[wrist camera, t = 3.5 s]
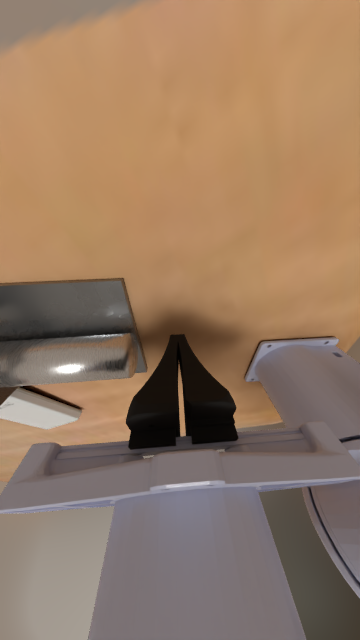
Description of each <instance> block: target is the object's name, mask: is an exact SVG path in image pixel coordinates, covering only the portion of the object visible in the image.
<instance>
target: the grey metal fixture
mask: <svg viewBox="0 0 360 640" xmlns="http://www.w3.org/2000/svg"><path fill="white" fill-rule="evenodd" d="M122 333H133V334H134V336H135V338H136V340H137V345H138V363H137V368H136V371H135V373H142V372H147V365H146V361H145V358H144V354H143V350H142V346H141V343H140V339H139V335H138V332H137V328H136V324H135V321H134V317H133V313H132V309H131V306H130V302H129V298H128V295H127V291H126V287H125V283H124V280H123V278H118V279H95V280H72V281H48V282H25V283H2V284H0V342H3V341H18V340H33V339H48V338H63V337H77V336H92V335H107V334H122ZM18 387H19V386H15V387H1V388H0V406H1V405H2V404H3V402H4V401H5V400H6V399H7V398H8V397H9V396H10V395H11V394H12V393H13V392H14V391H15V390H16V389H17V388H18Z"/></svg>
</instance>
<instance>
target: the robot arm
mask: <svg viewBox="0 0 360 640" xmlns="http://www.w3.org/2000/svg"><path fill="white" fill-rule="evenodd" d="M338 342H339V339H337V338H336V337H331V338H314V339H297V340H280V341H264V342H261V343H260V345H259V347H258V349H257V351H256V354H255V356H254V358H253V361H252V363H251V365H250V367H249V370H248V372H247V374H246V376H245V380H246V381H247V382H251V381H260V382H261V384H262V386H263V387H264V389H265V391H266V393H267V394H268V396H269V398H270V400H271V401H272V403H273V405H274V407H275V408H276V410H277V412H278V413H279V415H280V417H281V419H282V420H283V422H284V424H285V425H286V427H287V428H283V429H271V430H258V431H246V432H237V431H236V428H235V425H234V424H235V421H234V418H233V414H234V412H235V410H236V405H235V403H234V400H233V398H232V396H231V395H230V393H229V391H228V390H227V389H226V388H225V387H223V386H222V385H221V384H220V383H219V382H218V381H217V380H216V379H215V378H214V377H213V376H212V375H211V374H210V373H209V372H208V371H207V370H206V369H205V368H204V367H203V365H202V364H201V363H200V362H199V360H198V359H197V357H196V356H195V354H194V353H193V351H192V350H191V348H190V346H189V344H188V342H187V340H186V337H185V335H184V334H179V335H171V336H170V339H169V343H168V346H167V348H166V351H165V353H164V355H163V357H162V359H161V361H160V363H159V365H158V366H157V368H156V369H155V371H154V373H153V374H152V375H151V377H150V378H149V379H148V381H147V382H146V383H145V385H144V386H143V387H142V388H141V389H140V391H139V392H138V393H137V394H136V395H135V396H134V397H133V400H132V402H131V404H130V407H129V410H128V414H127V418H126V424H127V426H128V427H129V429H130V430H131V434H130V440H129V441H122V442H109V443H97V444H84V445H72V446H61V445H59V444H57V443H38V444H33V445H32V446H31V448H30V449H29V451H28V452H27V454H26V456H25V457H24V459H23V460H22V462H21V463H20V465H19V467H18V468H17V470H16V471H15V473H14V474H13V476H12V477H11V479H10V481H9V482H8V484H7V485H6V487H5V489H4V490H3V492H2V493H1V495H0V514H1V513H34V512H45V511H56V510H68V509H81V508H93V507H106V506H115V507H114V512H113V517H112V522H111V528H110V532H109V538H108V542H107V547H106V552H105V557H104V562H103V567H102V572H101V577H100V582H99V587H98V592H97V597H96V602H95V607H94V612H93V617H92V622H91V626H90V631H89V636H88V640H306V637H305V634H304V631H303V628H302V625H301V622H300V619H299V616H298V613H297V610H296V607H295V604H294V601H293V597H292V594H291V591H290V588H289V585H288V582H287V579H286V576H285V573H284V570H283V567H282V564H281V561H280V558H279V555H278V552H277V549H276V546H275V543H274V540H273V537H272V534H271V531H270V527H269V524H268V522H267V518H266V515H265V512H264V509H263V506H262V503H261V500H260V497H259V494H258V492H263V491H272V490H281V489H290V488H299V487H302V491H303V495H304V500H305V503H306V506H307V509H308V512H309V514H310V517H311V520H312V522H313V525H314V527H315V529H316V531H317V533H318V535H319V537H320V539H321V541H322V543H323V544H324V546H325V548H326V550H327V552H328V553H329V555H330V557H331V558H332V560H333V562H334V563H335V565H336V566H337V568H338V569H339V571H340V572H341V574H342V575H343V577H344V578H345V580H346V581H347V583H348V584H349V585H350V586H351V588H352V589H353V590H354V591H355V593H356V594H357V595H358V597H359V598H360V363H359V362H357V361H356V360H354V359H353V358H352V357H350V356H349V355H348V354H346V353H345V352H343V351H342V350H341V349H339V348H338V347H336V346H335V345H336V344H337V343H338ZM178 364H180V370H181V377H182V384H183V398H184V413H185V428H186V436H184V437H180V420H179V399H178ZM218 449H225V452H218V451H217V450H218ZM148 455H154V457H151V458H145V459H144V458H143V456H148Z"/></svg>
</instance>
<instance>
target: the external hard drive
mask: <svg viewBox="0 0 360 640" xmlns="http://www.w3.org/2000/svg"><path fill="white" fill-rule="evenodd" d="M81 413H82V410H79V409H77V408H74V407H71V406H68V405H66V404H63V403H60V402H58V401H55V400H52V399H50V398H47V397H44V396H41V395H39V394H36V393H33V392H31V391H28V390H25V389H22V388H20V387H18V388H17V389H16V390H15V391H14V392H13V393H12V394H11V395H10V396H9V397H8V398H7V399H6V400H5V401H4V402H3V404H2V405H1V406H0V418H1V419H5V420H9V421H14V422H18V423H22V424H26V425H30V426H34V427H39V428H43V429H50V428H54V427H57V426H60V425H64V424H67V423H70V422H74V421H76V420H78V419H79V417H80V415H81Z"/></svg>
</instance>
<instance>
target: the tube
mask: <svg viewBox="0 0 360 640" xmlns="http://www.w3.org/2000/svg"><path fill="white" fill-rule="evenodd" d="M137 363H138V345H137V340H136V338H135V336H134V334H133V333H122V334H107V335H92V336H77V337H63V338H48V339H33V340H18V341H3V342H0V388H1V387H15V386H28V385H42V384H55V383H68V382H82V381H95V380H109V379H122V378H131V377H133V375H134V374H135V371H136V368H137Z"/></svg>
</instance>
